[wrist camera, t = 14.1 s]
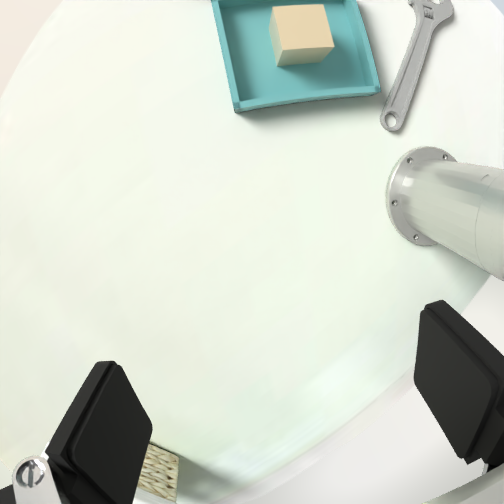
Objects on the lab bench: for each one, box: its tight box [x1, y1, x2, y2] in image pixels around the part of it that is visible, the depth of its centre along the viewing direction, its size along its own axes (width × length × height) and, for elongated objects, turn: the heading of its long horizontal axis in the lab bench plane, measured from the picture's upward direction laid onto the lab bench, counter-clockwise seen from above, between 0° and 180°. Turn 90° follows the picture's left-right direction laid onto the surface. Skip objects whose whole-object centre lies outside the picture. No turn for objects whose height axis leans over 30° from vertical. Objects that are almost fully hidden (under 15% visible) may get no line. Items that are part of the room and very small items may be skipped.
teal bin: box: [211, 0, 381, 113], centre depth 28 cm, size 16×14×3 cm
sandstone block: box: [269, 4, 334, 66], centre depth 26 cm, size 5×5×6 cm
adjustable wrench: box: [380, 0, 453, 131], centre depth 29 cm, size 25×6×2 cm, turn 153°
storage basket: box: [41, 441, 179, 504], centre depth 42 cm, size 24×16×15 cm
